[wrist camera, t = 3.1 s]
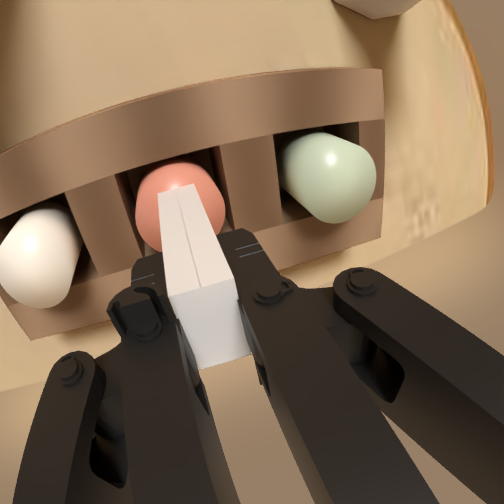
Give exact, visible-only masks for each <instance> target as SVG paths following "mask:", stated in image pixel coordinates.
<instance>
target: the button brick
mask: <svg viewBox="0 0 504 504" xmlns="http://www.w3.org/2000/svg"><path fill="white" fill-rule="evenodd" d="M190 184H194V185H195V188H196V190H197V193H198V195H199V197H200V200H201V202H202V205H203V207H204V209H205V212H206V214H207V216H208V219H209V221H210V223H211V226H212V228H213V230H214V233H215V235H218V234H219V232H220V230H221V228H222V226H223V223H224V219H225V204H224V200H223V197H222V195H221V193H220V191H219V190H218V188H217V187H216V185H215V183H214V182H213V180H212V178H211V177H210V175H209V174H208V172H207V170H206V169H205V167H204V166H203V165H202V164H201V163H200V162H199V161H198V160H197V159H195V158H193V157H191V156H189V155H186V154H181V155H178V156H174V157H170V158H167V159H163V160H159V161H156V162H153V163H150V164H148V166H147V167H146V168H145V169H144V171H143V172H142V174H141V176H140V179H139V183H138V191H137V201H136V214H135V219H136V225H137V229H138V231H139V233H140V235H141V237H142V238H143V240H144V241H145V242H146V243H147V244H148V245H149V246H150V247H152V248H153V249H155V250H157V251H159V252H163V251H162V241H161V231H160V219H159V207H158V193H161V192H165V191H168V190H172V189H175V188H179V187H183V186H186V185H190Z"/></svg>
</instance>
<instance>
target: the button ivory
mask: <svg viewBox="0 0 504 504" xmlns="http://www.w3.org/2000/svg"><path fill="white" fill-rule="evenodd" d="M82 244H83V238H82V235H81V233H80V231H79V228H78V226H77V223H76V221H75V218H74V216H73V213H72V212H71V211H70V210H69V209H68V208H66V207H65V206H63V205H61V204H59V203H56V202H50V201H44V202H39V203H36V204H34V205H32V206H31V207H29V208H28V209H27V210H26V211H25V213H24V214H23V215H22V216H21V218H20V219H19V220H18V222H17V223H16V224H15V226H14V227H13V228H12V230H11V231H10V232H9V234H8V235H7V237H6V238H5V239H4V241H3V242H2V244H1V245H0V283H1V285H2V287H3V288H4V289H5V291H6V292H7V293H8V294H9V295H10V296H11V297H12V298H13V299H15V300H16V301H18V302H19V303H21V304H23V305H26V306H28V307H32V308H39V309H43V308H50V307H53V306H55V305H57V304H59V303H60V302H61V301H62V300H63V299H64V298H65V297H66V295H67V294H68V292H69V289H70V285H71V282H72V278H73V274H74V271H75V268H76V264H77V261H78V258H79V255H80V251H81V248H82Z"/></svg>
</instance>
